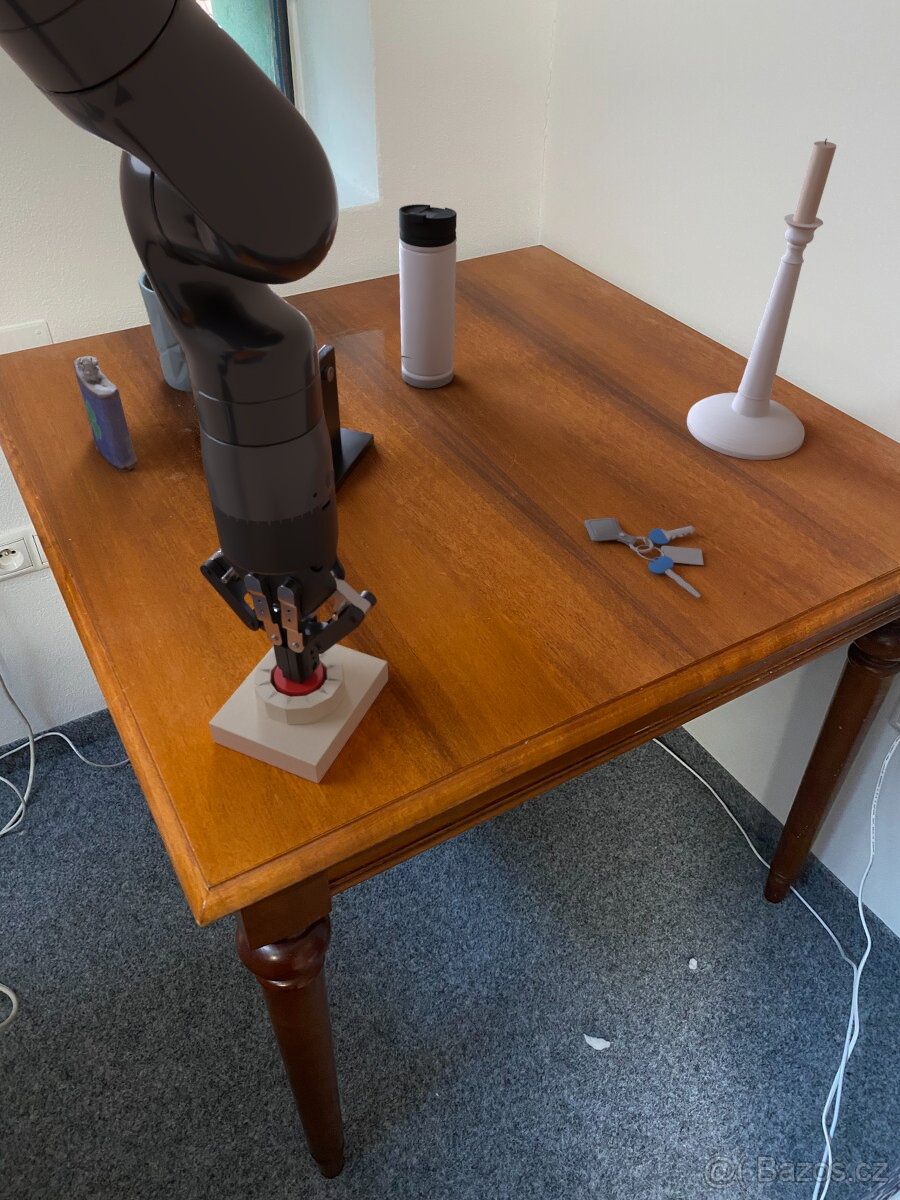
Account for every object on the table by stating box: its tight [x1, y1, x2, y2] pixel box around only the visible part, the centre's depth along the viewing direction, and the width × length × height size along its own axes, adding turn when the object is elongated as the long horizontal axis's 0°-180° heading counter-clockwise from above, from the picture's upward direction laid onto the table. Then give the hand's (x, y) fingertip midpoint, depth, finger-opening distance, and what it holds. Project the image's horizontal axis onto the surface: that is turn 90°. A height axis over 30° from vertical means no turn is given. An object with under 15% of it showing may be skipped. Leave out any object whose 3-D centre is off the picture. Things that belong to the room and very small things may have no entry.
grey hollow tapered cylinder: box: [137, 271, 193, 393], centre depth 101 cm, size 10×10×12 cm
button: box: [274, 664, 324, 697], centre depth 65 cm, size 4×4×2 cm
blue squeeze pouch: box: [73, 355, 138, 472], centre depth 89 cm, size 9×3×11 cm, turn 33°
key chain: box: [583, 517, 705, 599], centre depth 82 cm, size 14×8×1 cm, turn 46°
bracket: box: [318, 344, 375, 495], centre depth 88 cm, size 12×9×13 cm
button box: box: [208, 643, 389, 784], centre depth 66 cm, size 11×9×4 cm
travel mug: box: [398, 203, 458, 389], centre depth 99 cm, size 6×7×20 cm
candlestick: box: [686, 138, 837, 461], centre depth 89 cm, size 13×13×30 cm
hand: (300, 673), depth 65 cm, fingers closed
